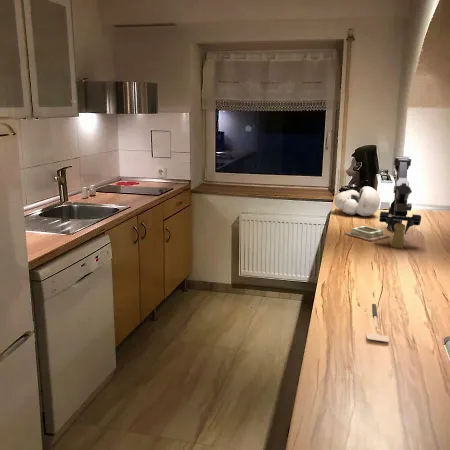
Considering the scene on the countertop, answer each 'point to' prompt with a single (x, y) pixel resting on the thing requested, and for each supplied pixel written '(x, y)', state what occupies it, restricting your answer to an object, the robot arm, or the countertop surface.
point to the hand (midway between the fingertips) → (399, 233)
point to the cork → (398, 236)
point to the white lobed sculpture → (358, 201)
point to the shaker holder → (367, 233)
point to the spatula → (375, 336)
